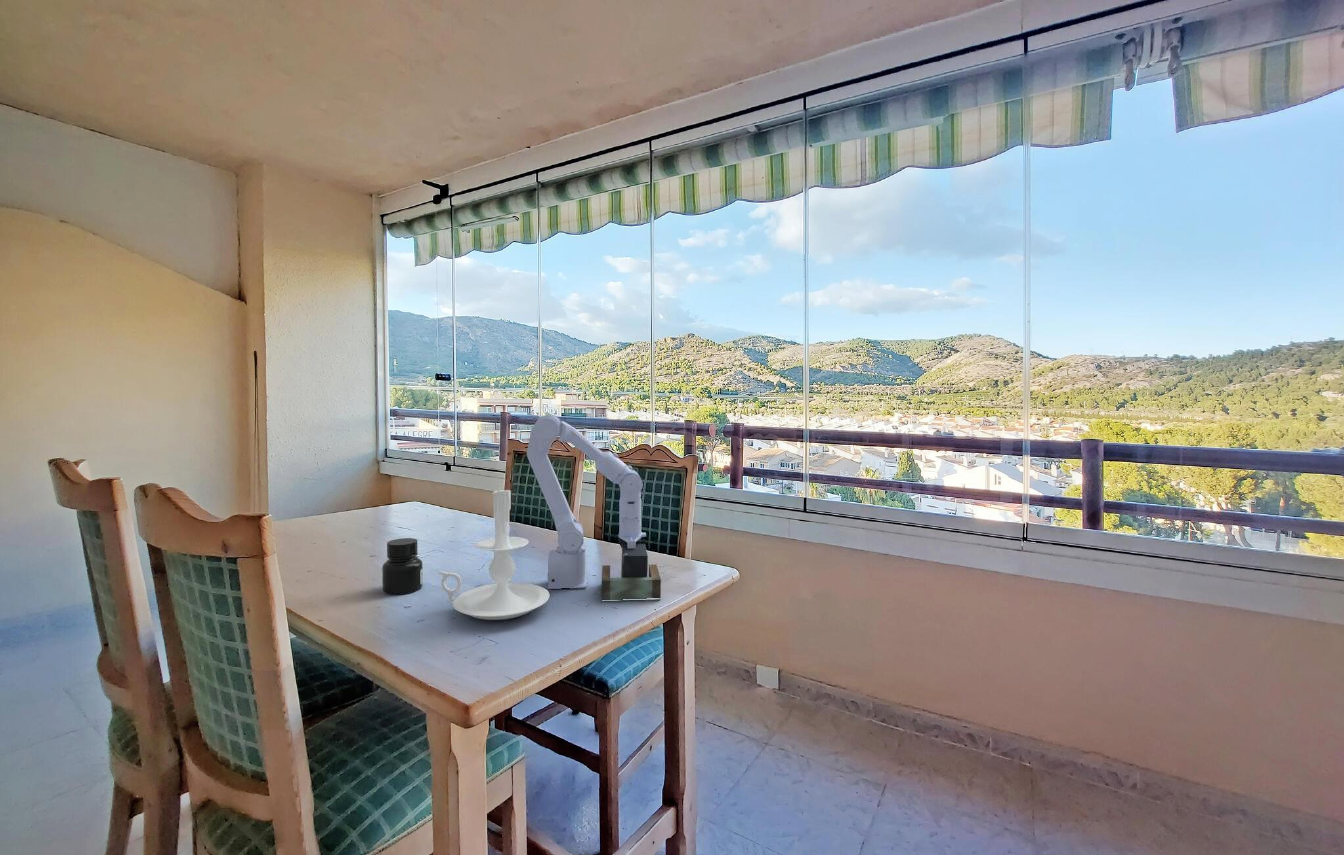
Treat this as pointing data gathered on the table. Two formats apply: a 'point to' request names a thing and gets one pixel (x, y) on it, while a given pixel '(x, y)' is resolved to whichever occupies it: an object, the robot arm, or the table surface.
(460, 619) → the table surface
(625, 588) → the book slot
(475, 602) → the candlestick
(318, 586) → the table surface
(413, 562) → the ink bottle
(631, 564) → the small box
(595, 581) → the table surface
